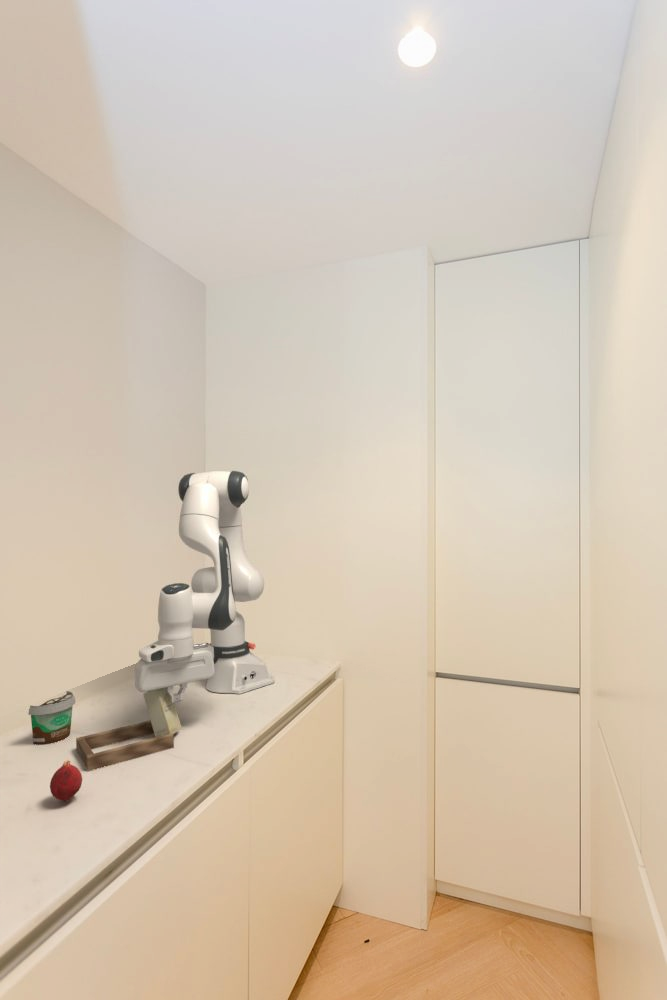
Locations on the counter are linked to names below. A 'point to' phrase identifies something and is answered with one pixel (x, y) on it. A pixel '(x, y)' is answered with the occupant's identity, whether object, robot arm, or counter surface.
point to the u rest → (122, 752)
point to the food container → (52, 719)
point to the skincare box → (162, 712)
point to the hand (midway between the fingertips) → (176, 701)
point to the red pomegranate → (66, 782)
